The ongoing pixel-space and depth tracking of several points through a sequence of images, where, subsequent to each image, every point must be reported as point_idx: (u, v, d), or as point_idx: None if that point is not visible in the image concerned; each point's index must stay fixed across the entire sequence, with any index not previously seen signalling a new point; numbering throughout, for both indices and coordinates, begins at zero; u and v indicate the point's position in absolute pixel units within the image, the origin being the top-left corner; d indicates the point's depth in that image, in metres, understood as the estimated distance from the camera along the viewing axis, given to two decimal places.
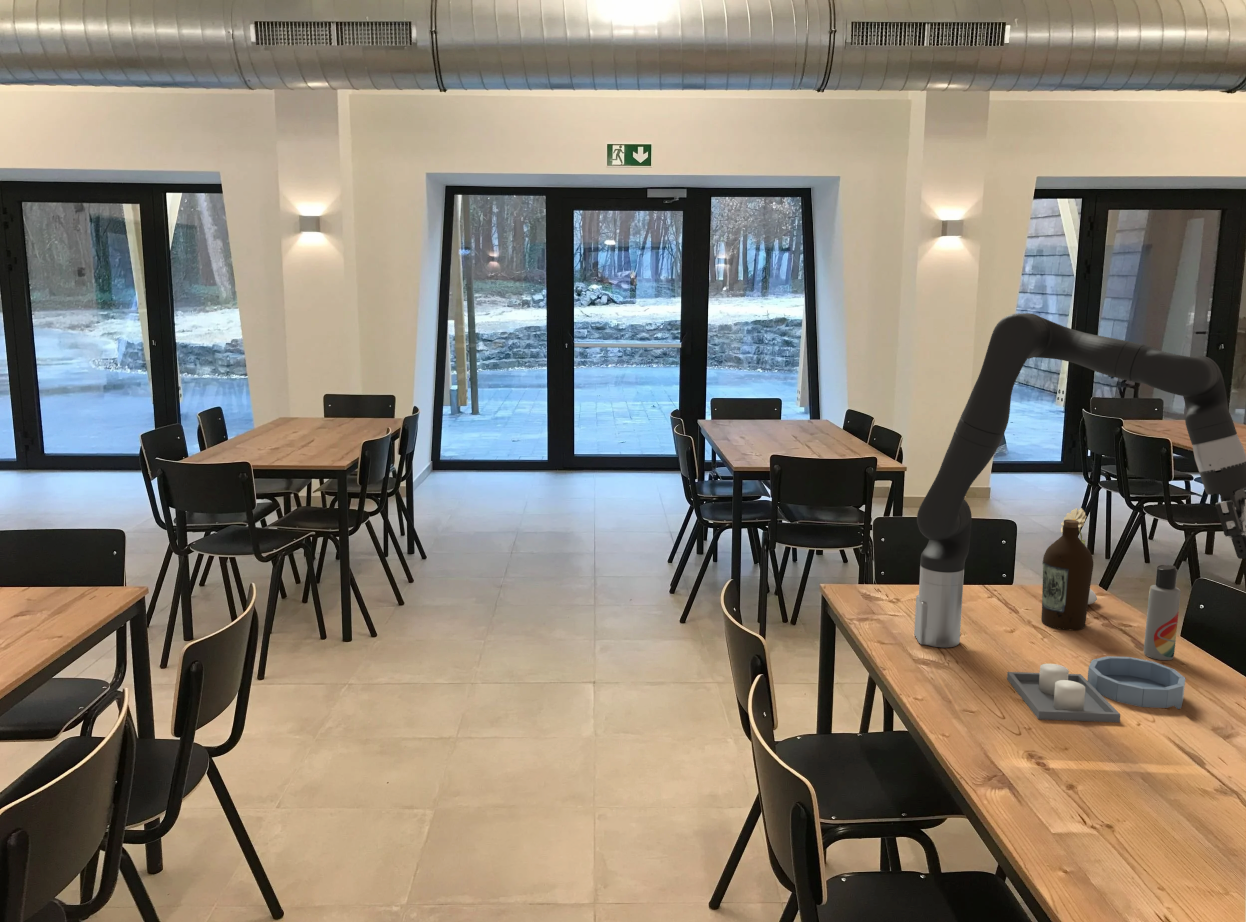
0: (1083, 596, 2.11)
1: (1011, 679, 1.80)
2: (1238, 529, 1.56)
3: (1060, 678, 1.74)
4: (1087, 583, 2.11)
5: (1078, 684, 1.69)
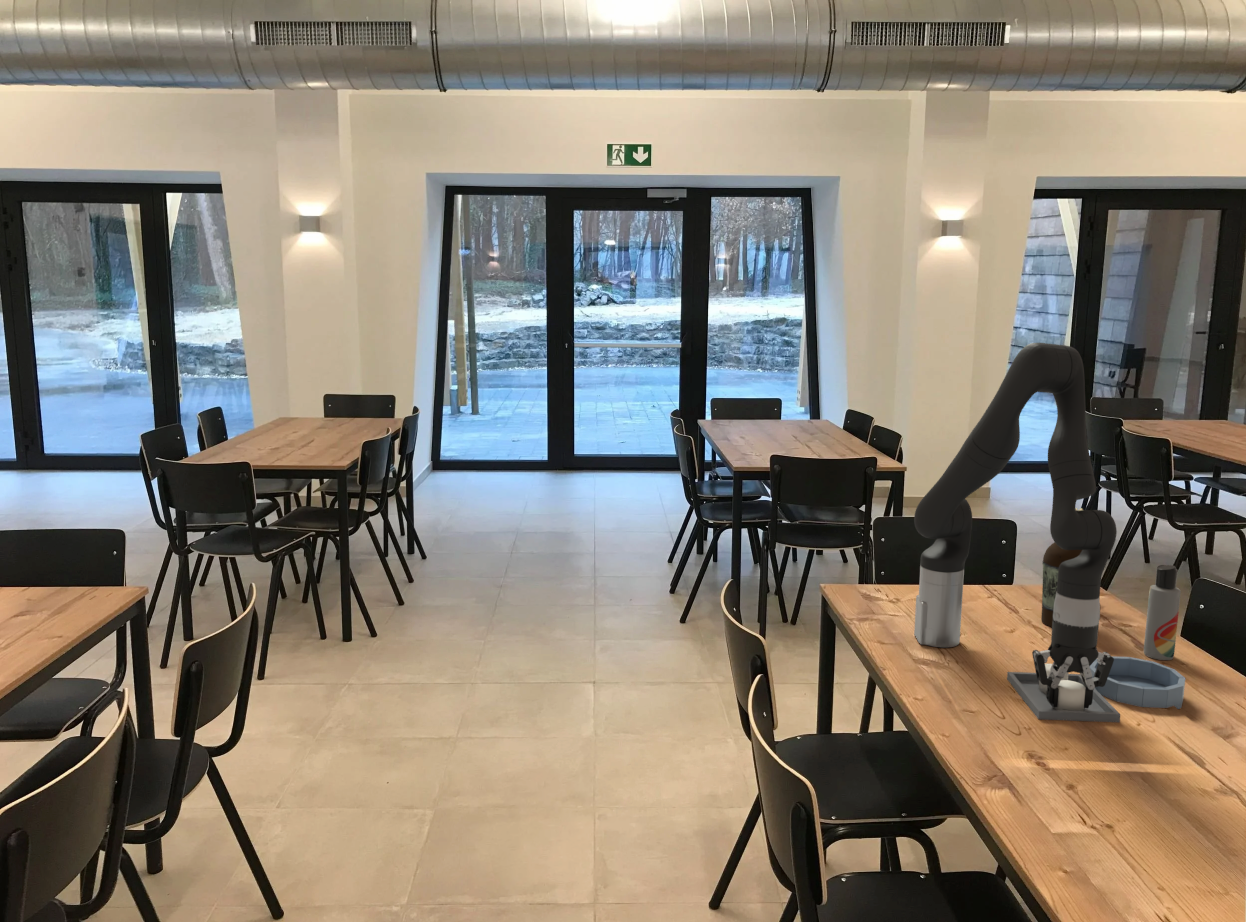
0: None
1: (1011, 679, 1.80)
2: (1041, 679, 1.68)
3: None
4: None
5: (1078, 684, 1.69)
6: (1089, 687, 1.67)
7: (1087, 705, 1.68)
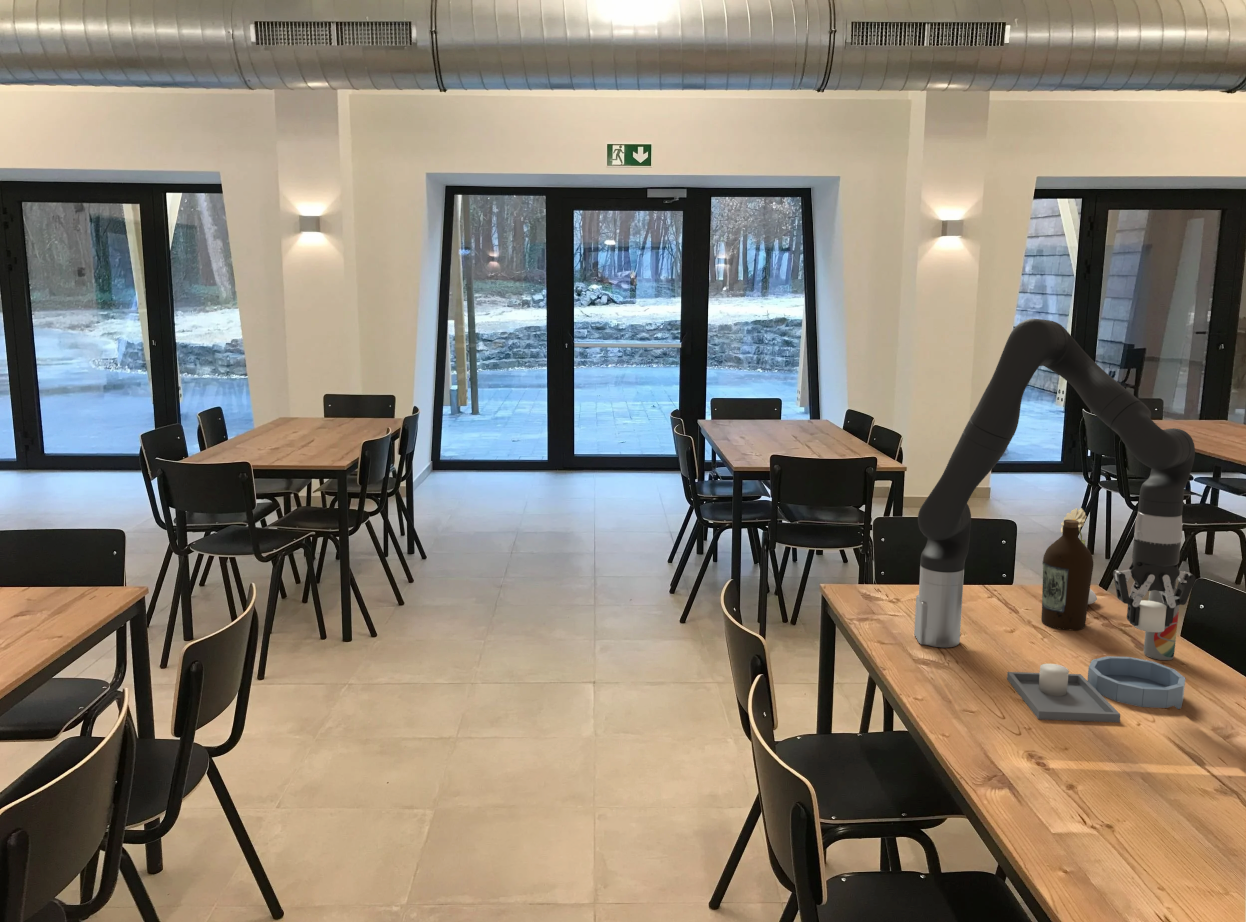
0: (1083, 596, 2.11)
1: (1011, 679, 1.80)
2: None
3: (1060, 678, 1.74)
4: (1087, 583, 2.11)
5: (1159, 603, 1.72)
6: (1170, 605, 1.70)
7: (1168, 623, 1.71)
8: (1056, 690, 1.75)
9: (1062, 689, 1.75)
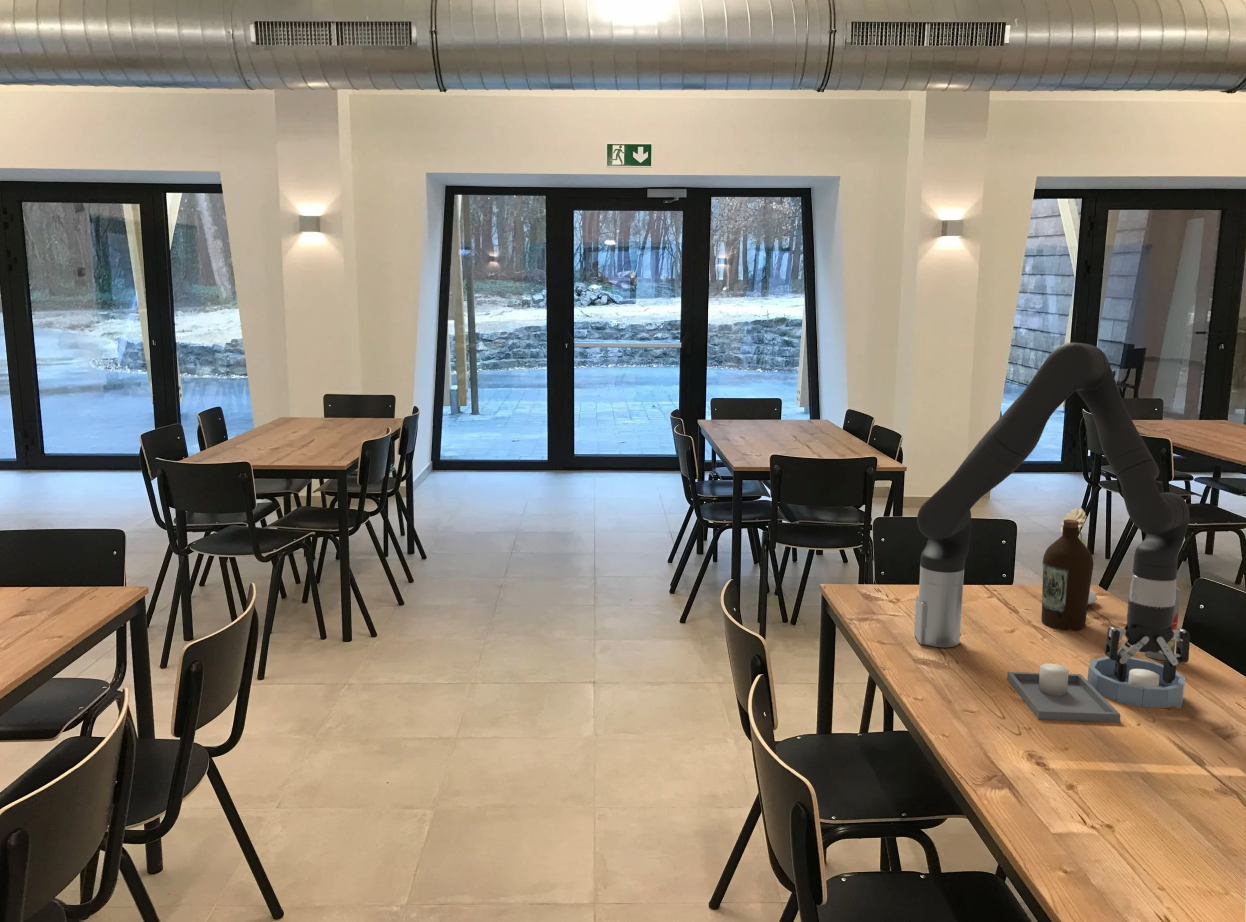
0: (1083, 596, 2.11)
1: (1011, 679, 1.80)
2: (1109, 655, 1.73)
3: (1060, 678, 1.74)
4: (1087, 583, 2.11)
5: (1152, 672, 1.74)
6: (1173, 663, 1.72)
7: (1170, 680, 1.72)
8: (1056, 690, 1.75)
9: (1062, 689, 1.75)
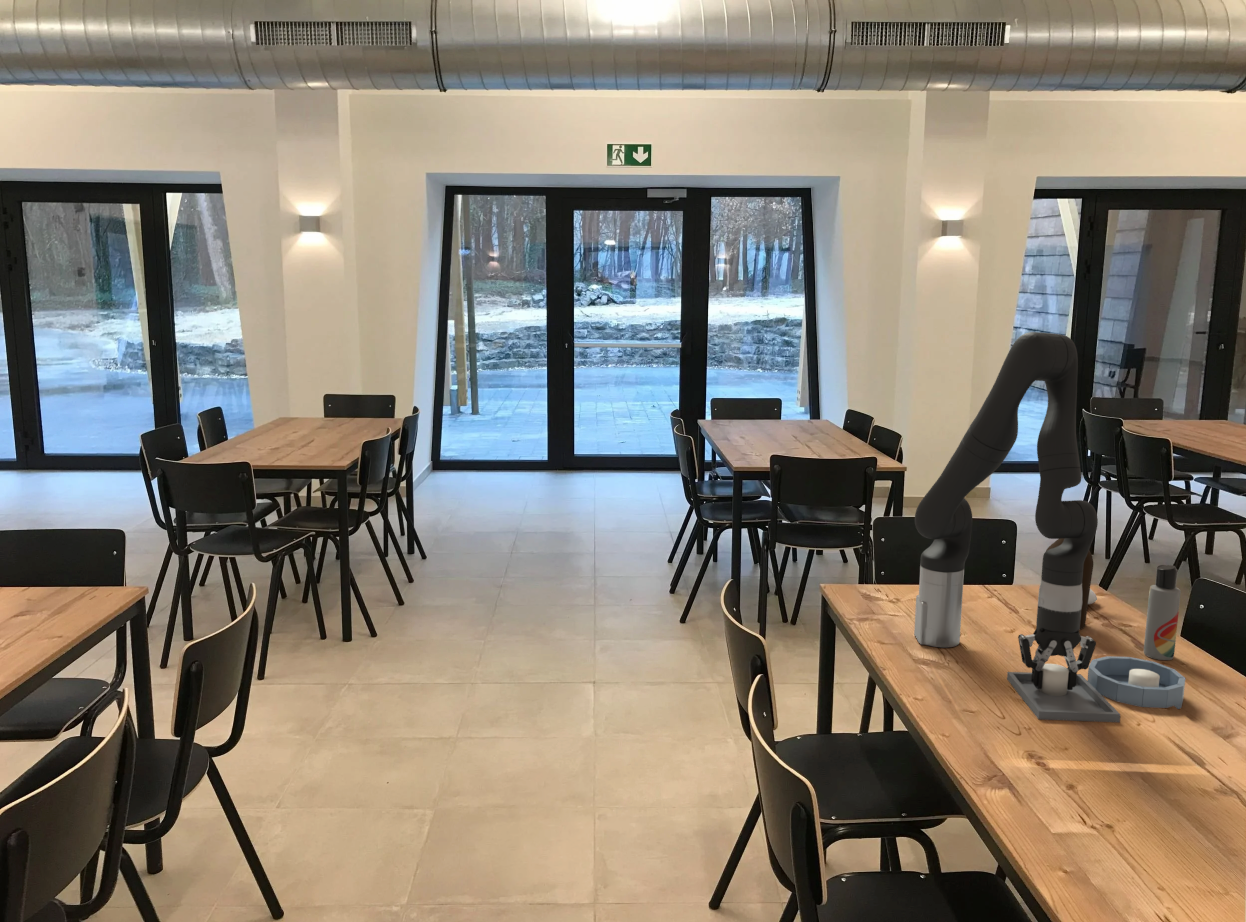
0: (1083, 596, 2.11)
1: (1011, 679, 1.80)
2: (1026, 662, 1.76)
3: (1060, 678, 1.74)
4: (1087, 583, 2.11)
5: (1152, 672, 1.74)
6: (1073, 670, 1.75)
7: (1071, 687, 1.76)
8: (1056, 690, 1.75)
9: (1062, 689, 1.75)
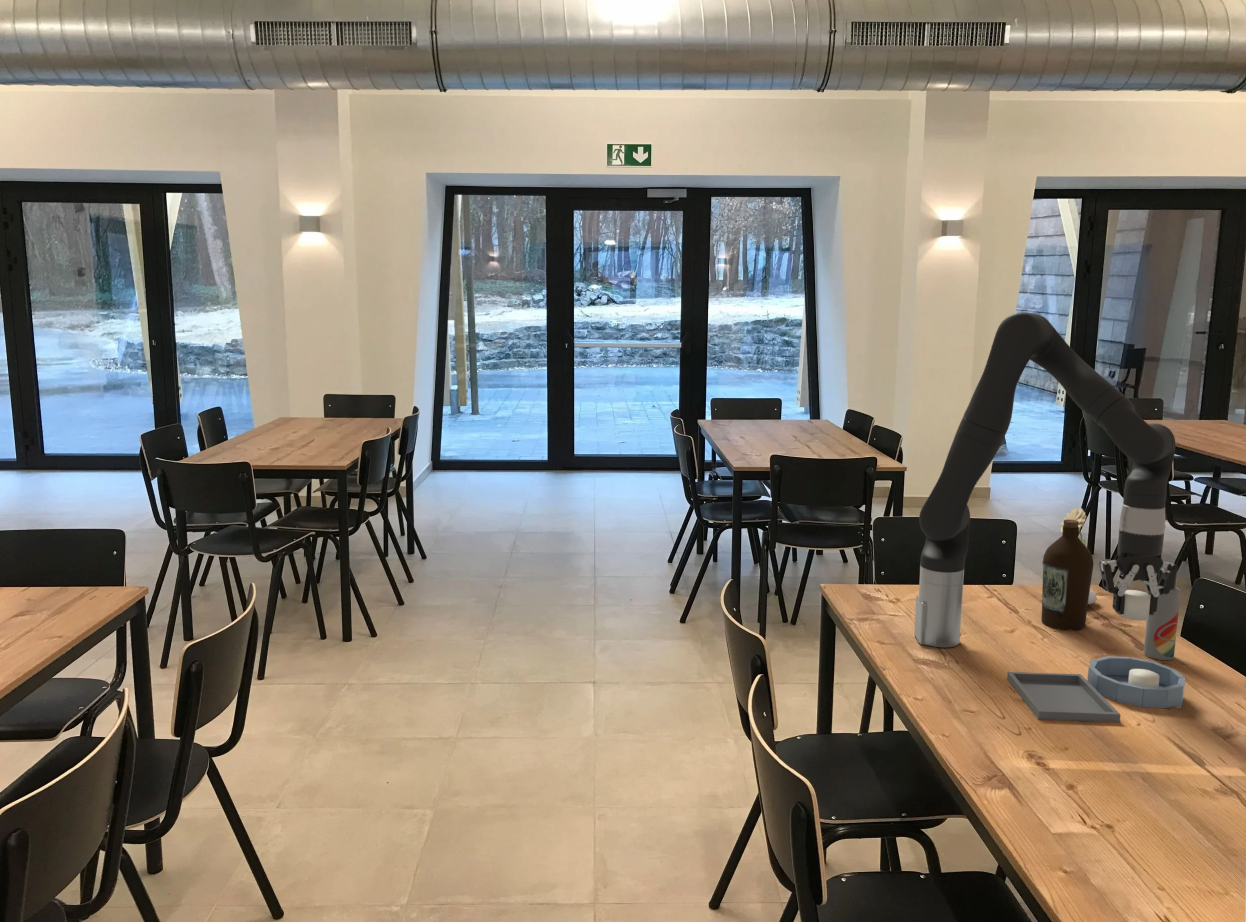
0: (1083, 596, 2.11)
1: (1011, 679, 1.80)
2: (1108, 587, 1.77)
3: (1143, 603, 1.75)
4: (1087, 583, 2.11)
5: (1151, 672, 1.74)
6: (1154, 594, 1.76)
7: (1152, 612, 1.77)
8: (1138, 615, 1.76)
9: (1144, 614, 1.76)
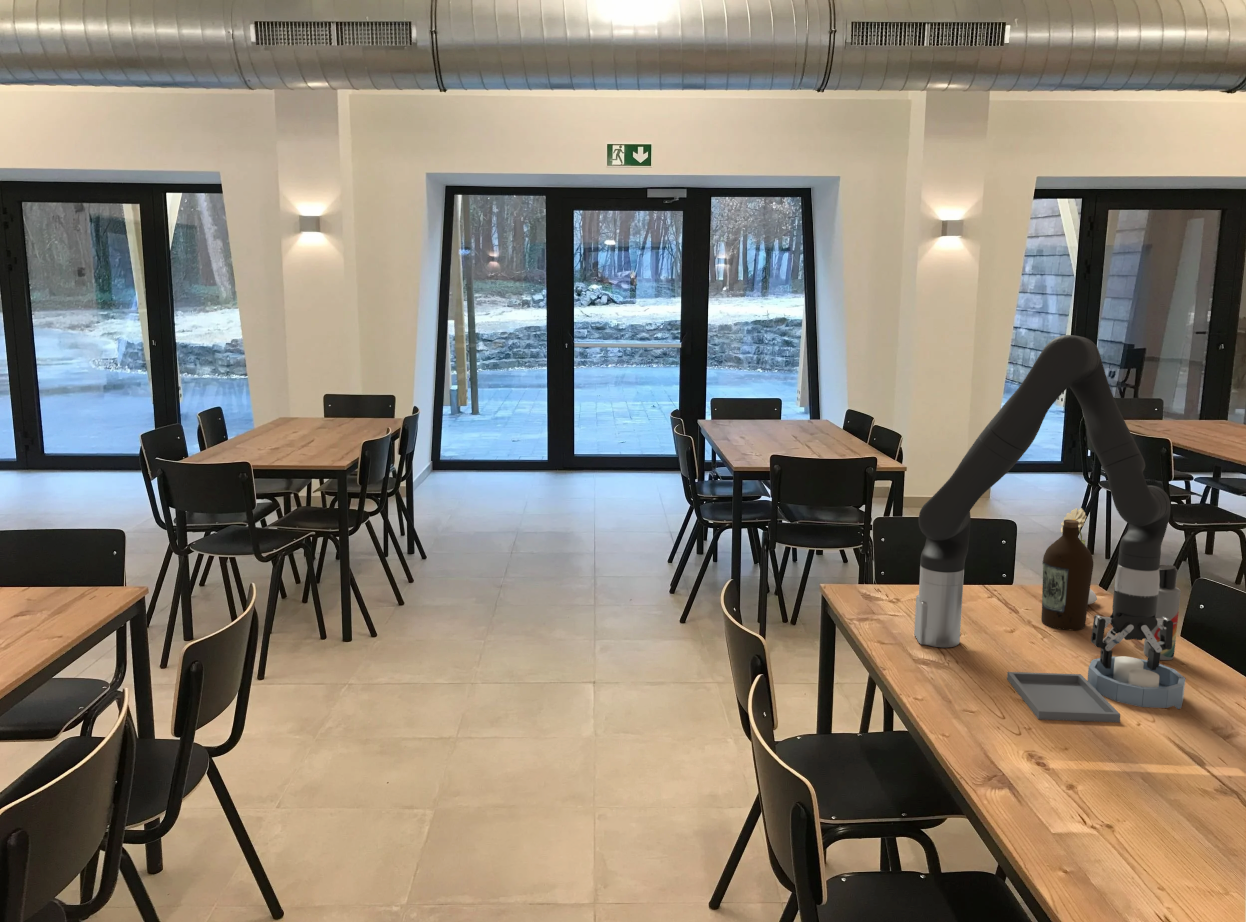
0: (1083, 596, 2.11)
1: (1011, 679, 1.80)
2: (1095, 642, 1.79)
3: None
4: (1087, 583, 2.11)
5: (1151, 672, 1.74)
6: (1157, 650, 1.78)
7: (1154, 667, 1.79)
8: None
9: None
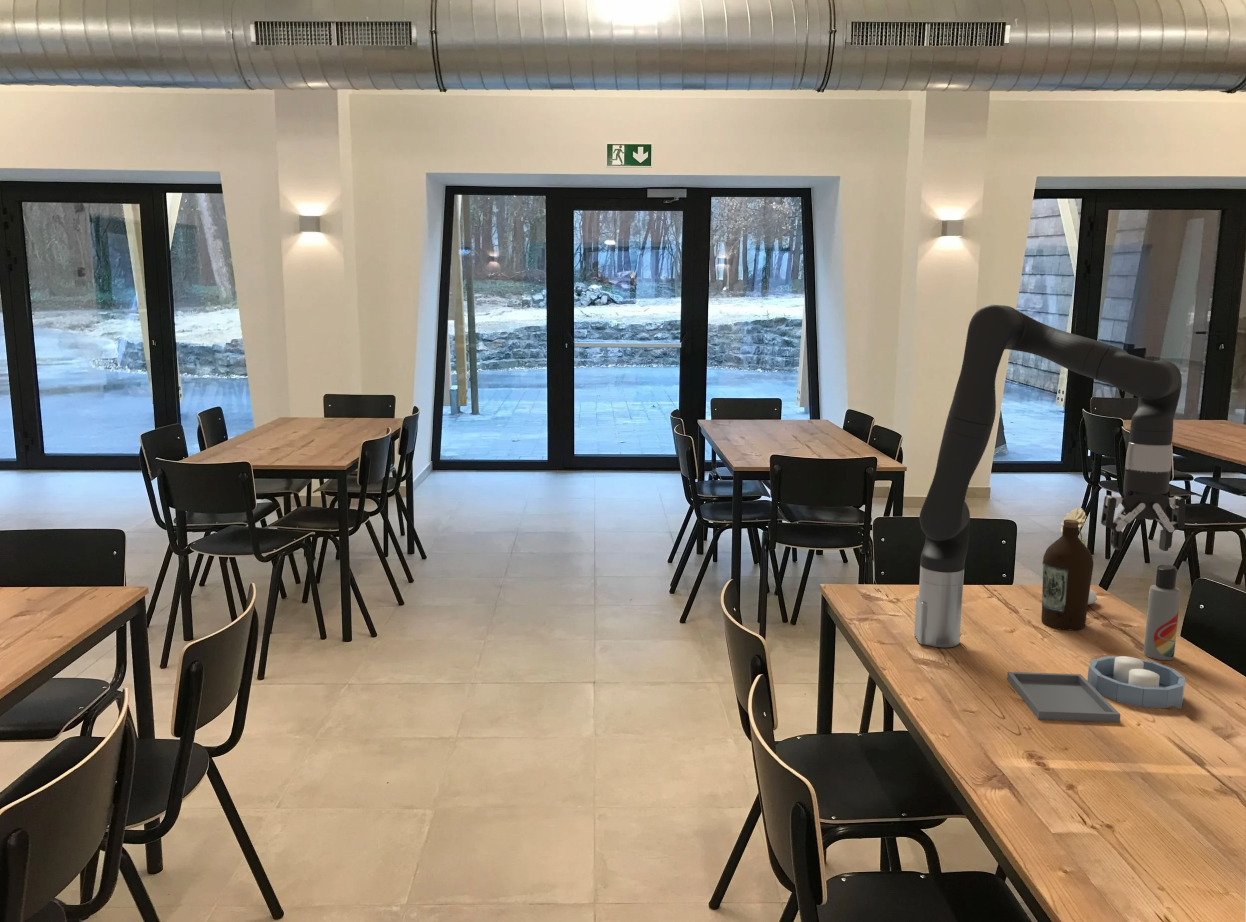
0: (1083, 596, 2.11)
1: (1011, 679, 1.80)
2: (1105, 523, 1.75)
3: None
4: (1087, 583, 2.11)
5: (1151, 672, 1.74)
6: (1169, 529, 1.74)
7: (1167, 547, 1.75)
8: None
9: None
